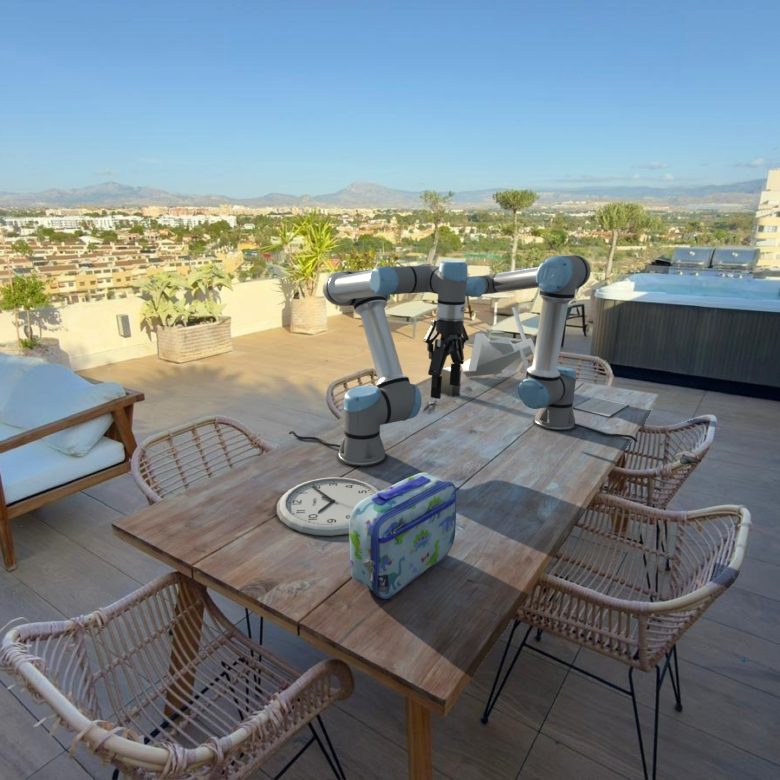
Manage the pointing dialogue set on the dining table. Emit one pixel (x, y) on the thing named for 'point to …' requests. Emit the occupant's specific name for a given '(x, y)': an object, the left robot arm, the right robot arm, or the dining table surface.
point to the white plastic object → (497, 353)
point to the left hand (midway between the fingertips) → (445, 391)
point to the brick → (446, 386)
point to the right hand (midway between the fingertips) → (445, 357)
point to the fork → (430, 403)
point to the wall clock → (323, 505)
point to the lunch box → (401, 532)
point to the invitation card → (601, 406)
